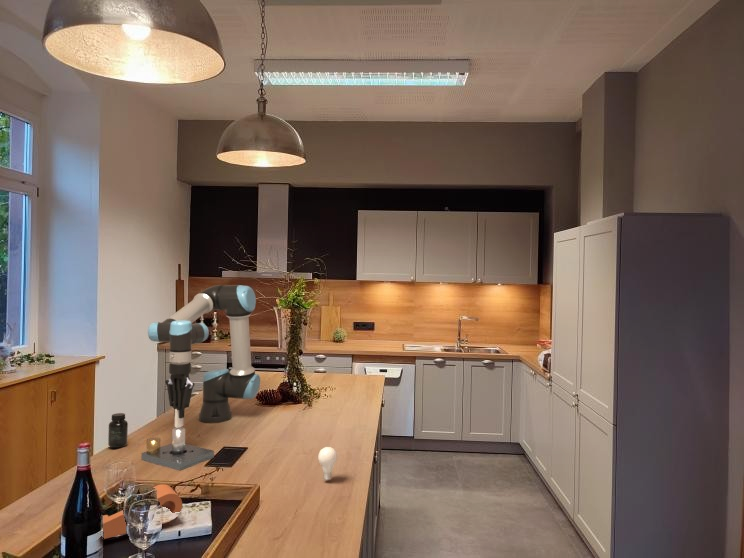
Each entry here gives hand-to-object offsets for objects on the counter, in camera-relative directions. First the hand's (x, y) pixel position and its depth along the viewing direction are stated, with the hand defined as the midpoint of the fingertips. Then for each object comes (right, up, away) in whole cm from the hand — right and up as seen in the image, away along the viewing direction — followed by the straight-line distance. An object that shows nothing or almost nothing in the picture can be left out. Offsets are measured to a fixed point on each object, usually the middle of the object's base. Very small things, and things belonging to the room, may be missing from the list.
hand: (178, 426), depth 195 cm
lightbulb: (+56, -13, -18) cm, 60 cm away
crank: (+8, -13, -50) cm, 53 cm away
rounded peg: (0, -12, 0) cm, 12 cm away
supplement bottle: (-29, -12, +14) cm, 35 cm away
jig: (0, -12, 0) cm, 12 cm away
